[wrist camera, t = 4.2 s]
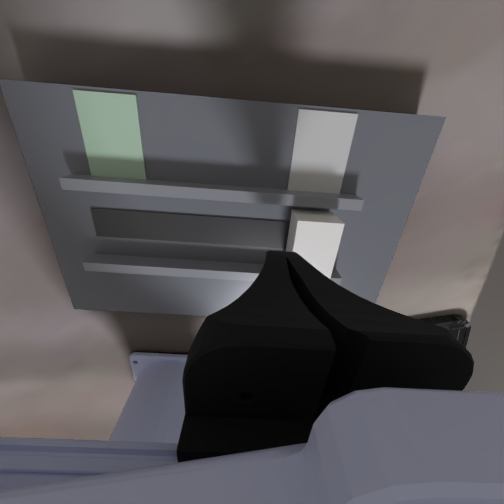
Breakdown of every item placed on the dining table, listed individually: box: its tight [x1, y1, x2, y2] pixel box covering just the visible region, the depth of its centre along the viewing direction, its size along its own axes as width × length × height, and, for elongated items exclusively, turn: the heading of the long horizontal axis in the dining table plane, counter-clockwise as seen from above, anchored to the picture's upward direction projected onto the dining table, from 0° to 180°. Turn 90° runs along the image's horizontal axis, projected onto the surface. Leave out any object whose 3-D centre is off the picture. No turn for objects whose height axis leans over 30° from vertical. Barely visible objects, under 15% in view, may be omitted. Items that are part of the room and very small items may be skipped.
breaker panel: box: [0, 79, 446, 316], centre depth 16 cm, size 14×22×4 cm, turn 86°
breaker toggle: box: [286, 209, 345, 279], centre depth 14 cm, size 4×2×2 cm, turn 176°
